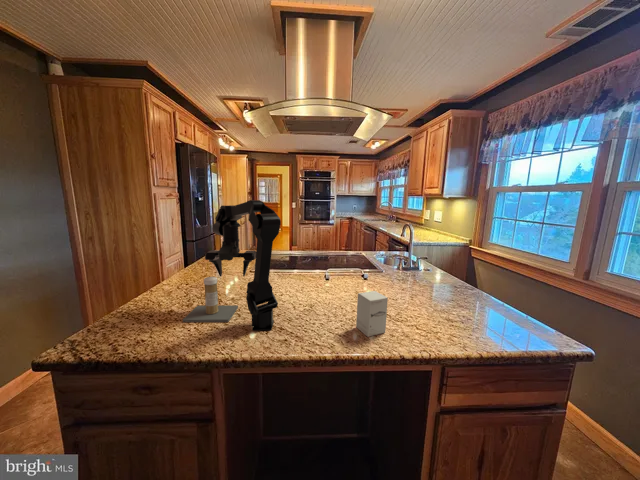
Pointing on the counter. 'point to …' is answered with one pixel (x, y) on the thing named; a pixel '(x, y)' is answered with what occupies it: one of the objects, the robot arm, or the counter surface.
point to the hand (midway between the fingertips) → (232, 276)
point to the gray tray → (201, 315)
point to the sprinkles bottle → (211, 295)
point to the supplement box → (371, 313)
